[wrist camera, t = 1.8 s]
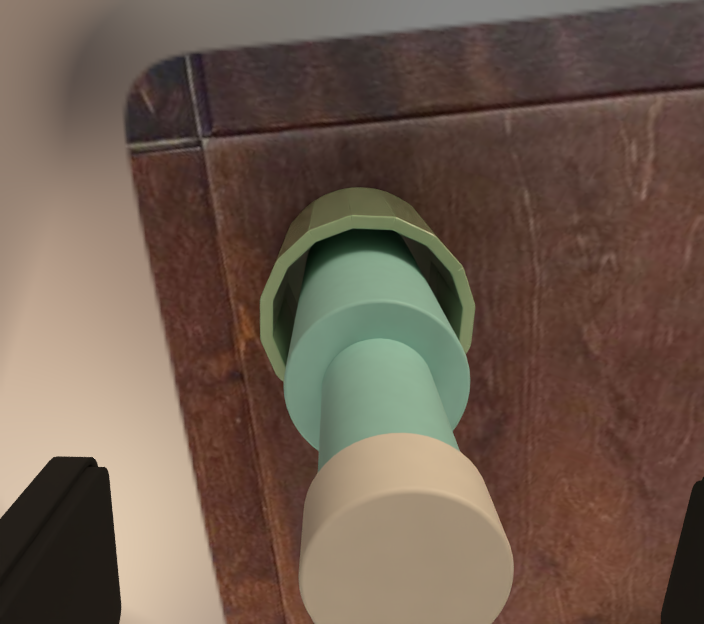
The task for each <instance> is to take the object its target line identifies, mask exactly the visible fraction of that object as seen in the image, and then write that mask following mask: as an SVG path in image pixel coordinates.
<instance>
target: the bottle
mask: <svg viewBox="0 0 704 624" xmlns="http://www.w3.org/2000/svg"><path fill="white" fill-rule="evenodd" d="M469 391H470V372H469V365H468V361H467V357H466V355H465V352H464V350H463V347H462V345H461V344H460V342H459V340H458V338H457V336H456V334H455V332H454V331H453V329H452V327H451V325H450V323H449V321H448V320H447V318H446V316H445V314H444V312H443V310H442V309H441V307H440V305H439V303H438V301H437V299H436V298H435V296H434V294H433V292H432V290H431V288H430V286H429V285H428V283H427V281H426V279H425V277H424V275H423V274H422V272H421V270H420V268H419V266H418V264H417V263H416V261H415V259H414V257H413V255H412V253H411V251H410V250H409V248H408V246H407V244H406V243H405V241H404V239H403V238H402V237H401V236H400V235H399V234H398V233H397V232H395V231H393V230H376V229H350V230H348V231H345V232H342V233H339V234H337V235H334V236H331V237H328V238H326V239H323V240H320V241H318V242H315V243H314V244H313V245H312V246H311V248H310V250H309V253H308V256H307V260H306V265H305V270H304V276H303V281H302V286H301V291H300V296H299V301H298V307H297V312H296V317H295V322H294V327H293V332H292V338H291V343H290V348H289V353H288V358H287V364H286V369H285V374H284V397H285V401H286V406H287V409H288V412H289V415H290V417H291V419H292V421H293V423H294V425H295V427H296V428H297V429H298V431H299V432H300V434H301V435H302V436H303V437H304V438H305V439H306V440H307V441H308V442H309V443H310V445H312V446H313V447H314V448H315V449H317V450H318V451H319V462H318V473H317V475H316V476H315V478H314V480H313V481H312V483H311V485H310V488H309V490H308V492H307V496H306V500H305V504H304V514H303V526H302V539H301V552H300V565H299V588H300V593H301V597H302V600H303V603H304V605H305V607H306V610H307V612H308V613H309V615H310V617H311V618H312V620H313V622H314V623H315V624H492V623H493V621H494V620H495V619H496V618H497V616H498V615H499V614H500V612H501V610H502V609H503V607H504V605H505V603H506V601H507V599H508V596H509V594H510V590H511V586H512V581H513V571H514V565H513V555H512V551H511V547H510V544H509V542H508V539H507V537H506V534H505V532H504V529H503V527H502V524H501V522H500V519H499V517H498V515H497V512H496V510H495V507H494V505H493V502H492V500H491V497H490V495H489V492H488V490H487V487H486V485H485V483H484V480H483V478H482V476H481V475H480V473H479V471H478V470H477V468H476V467H475V466H474V465H473V464H472V462H471V461H470V460H469V459H468V458H467V457H466V456H464V455H463V454H462V453H461V452H460V451H459V448H458V445H457V442H456V440H455V437H454V434H453V430H454V429H455V427H456V426H457V424H458V423H459V421H460V419H461V417H462V415H463V413H464V410H465V407H466V404H467V401H468V396H469Z"/></svg>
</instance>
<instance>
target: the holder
mask: <svg viewBox="0 0 704 624" xmlns="http://www.w3.org/2000/svg"><path fill="white" fill-rule="evenodd" d="M350 229H376V230H393V231H395V232H397V233H398V234H399V235H400V236H401V237H402V238H403V239H404V241H405V243H406V244H407V246H408V248H409V250H410V251H411V253H412V255H413V257H414V259H415V261H416V263H417V264H418V266H419V268H420V270H421V272H422V274H423V275H424V277H425V279H426V281H427V283H428V285H429V286H430V288H431V290H432V292H433V294H434V296H435V298H436V299H437V301H438V303H439V305H440V307H441V309H442V310H443V312H444V314H445V316H446V318H447V320H448V321H449V323H450V325H451V327H452V329H453V331H454V332H455V334H456V336H457V338H458V340H459V342H460V344H461V345H462V347H463V350H464V352H465V355H466V353H467V351H468V350H469V348H470V345H471V340H472V332H473V323H474V314H475V303H474V299H473V296H472V293H471V290H470V287H469V283H468V280H467V277H466V274H465V271H464V268H463V266H462V265H461V264H460V262H459V261H458V260H457V259H456V258H455V256H454V255H453V254H452V253H451V251H450V250H449V249H448V248H447V247H446V245H445V244H444V243H443V242H442V241H441V239H440V238H439V237H438V236H437V235H436V233H435V232H434V231H433V230H432V229H431V227H430V226H429V225H428V224H427V223H426V222H425V221H424V219H423V218H422V217H421V216H420V215H419V214H418V213H417V212H416V210H415V209H414V208H413V207H412V206H411V205H410V204H409V203H407V202H405V201H403V200H402V199H400V198H398V197H396V196H395V195H392V194H390V193H387V192H385V191H381V190H377V189H373V188H364V187H358V188H347V189H341V190H337V191H334V192H331V193H329V194H326V195H324V196H322V197H320V198H319V199H317V200H315V201H314V202H312V203H311V204H310V205H308V206H307V207H306V208H305V209H304V210H303V211H302V212H301V213H300V214H299V215H298V216H297V217H296V219H295V220H294V221H293V222H292V223H291V225H290V227H289V229H288V232H287V234H286V236H285V238H284V241H283V243H282V245H281V248H280V250H279V252H278V255H277V257H276V260H275V262H274V265H273V267H272V270H271V272H270V275H269V277H268V280H267V282H266V284H265V287H264V289H263V292H262V294H261V297H260V339H261V342H262V345H263V347H264V349H265V351H266V354H267V356H268V358H269V360H270V363H271V365H272V367H273V369H274V372H275V374H276V375H277V377H279V378H280V379H281V380H282V381H283V382H284V374H285V369H286V364H287V358H288V353H289V348H290V343H291V338H292V332H293V327H294V322H295V317H296V312H297V307H298V301H299V296H300V291H301V286H302V281H303V276H304V270H305V265H306V260H307V256H308V253H309V250H310V248H311V246H312V245H313V244H314V243H315V242H318V241H320V240H323V239H326V238H328V237H331V236H334V235H337V234H339V233H342V232H345V231H348V230H350Z"/></svg>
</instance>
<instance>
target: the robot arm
mask: <svg viewBox="0 0 704 624" xmlns="http://www.w3.org/2000/svg"><path fill="white" fill-rule="evenodd" d="M120 615H121V597H120V586H119V576H118V565H117V555H116V544H115V533H114V523H113V512H112V502H111V491H110V480H109V474H108V470H107V468H105V467H98V465H97V462H96V460H95V459H94V458H93V457H53V458H52V459H51V460H50V461H49V462H48V463H47V464H46V466H45V467H44V468H43V469H42V470H41V472H40V473H39V474H38V475H37V476H36V477H35V479H34V480H33V481H32V482H31V483H30V485H29V486H28V487H27V488H26V489H25V490H24V491H23V493H22V494H21V495H20V496H19V497H18V499H17V500H16V501H15V502H14V503H13V504H12V506H11V507H10V508H9V509H8V511H7V512H6V513H5V514H4V515H3V516H2V517H1V519H0V624H119V621H120ZM661 624H704V477H703V479H702V481H698V482H696V483H695V484H694V486H693V489H692V492H691V496H690V500H689V504H688V508H687V512H686V516H685V520H684V524H683V528H682V532H681V536H680V540H679V544H678V547H677V551H676V555H675V559H674V563H673V567H672V571H671V575H670V579H669V583H668V587H667V591H666V595H665V599H664V603H663V607H662V611H661Z"/></svg>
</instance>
